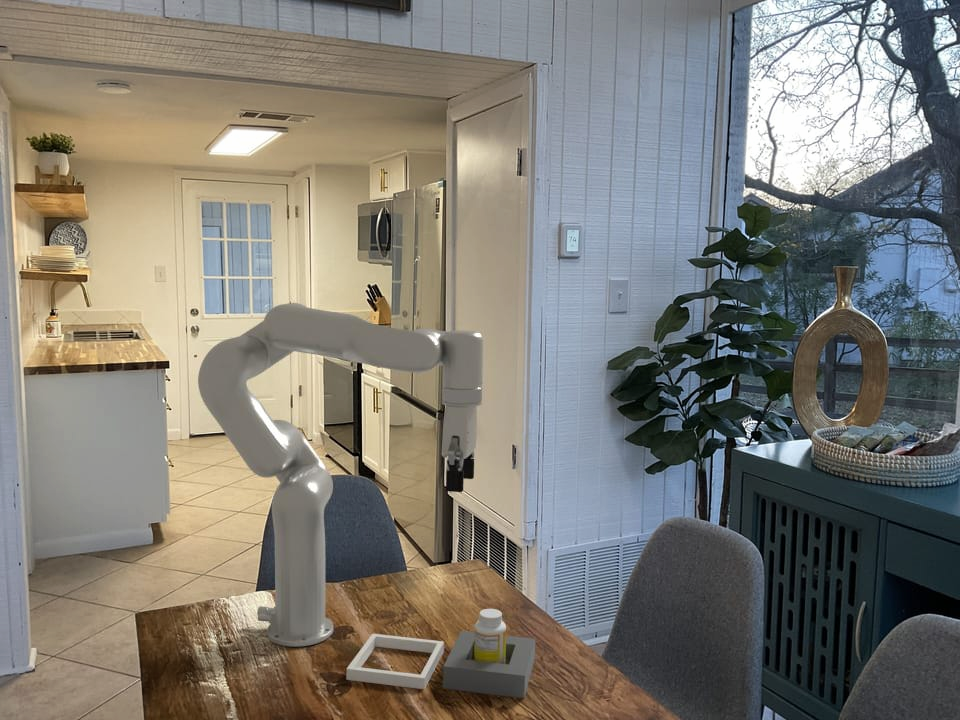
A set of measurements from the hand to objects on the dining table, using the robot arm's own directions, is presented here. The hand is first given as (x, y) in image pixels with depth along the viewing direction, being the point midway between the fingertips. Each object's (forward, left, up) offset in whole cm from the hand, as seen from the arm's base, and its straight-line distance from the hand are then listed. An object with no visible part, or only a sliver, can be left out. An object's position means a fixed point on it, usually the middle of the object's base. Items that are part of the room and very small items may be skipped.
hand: (460, 484), depth 154 cm
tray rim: (-8, -14, -30) cm, 34 cm away
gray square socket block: (+9, -13, -30) cm, 34 cm away
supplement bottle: (+9, -13, -30) cm, 33 cm away
